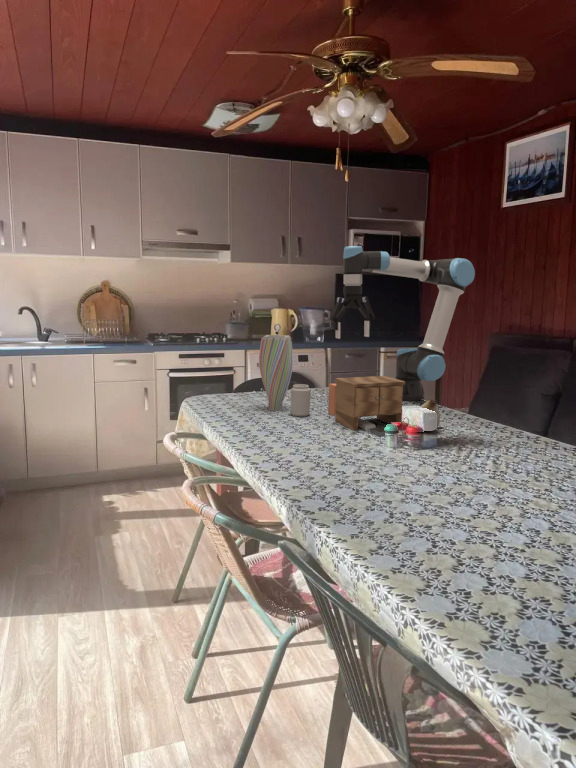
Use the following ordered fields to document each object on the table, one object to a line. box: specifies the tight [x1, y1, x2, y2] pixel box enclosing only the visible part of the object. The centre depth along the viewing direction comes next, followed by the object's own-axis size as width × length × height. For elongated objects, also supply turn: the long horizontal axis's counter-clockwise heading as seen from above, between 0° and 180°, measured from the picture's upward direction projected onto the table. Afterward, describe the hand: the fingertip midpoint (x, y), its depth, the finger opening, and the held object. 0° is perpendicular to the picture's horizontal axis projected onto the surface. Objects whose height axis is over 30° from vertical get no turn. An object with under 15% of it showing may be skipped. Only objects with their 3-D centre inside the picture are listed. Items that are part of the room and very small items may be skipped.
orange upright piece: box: [327, 382, 377, 431], centre depth 221 cm, size 29×5×12 cm, turn 22°
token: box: [369, 426, 386, 438], centre depth 202 cm, size 6×6×2 cm
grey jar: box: [290, 383, 311, 418], centre depth 229 cm, size 8×8×12 cm
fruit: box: [419, 398, 441, 428], centre depth 207 cm, size 10×9×12 cm
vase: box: [258, 334, 294, 411], centre depth 239 cm, size 14×14×30 cm
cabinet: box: [334, 375, 405, 431], centre depth 215 cm, size 21×15×16 cm
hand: (352, 337), depth 241 cm, fingers open, 13 cm apart
